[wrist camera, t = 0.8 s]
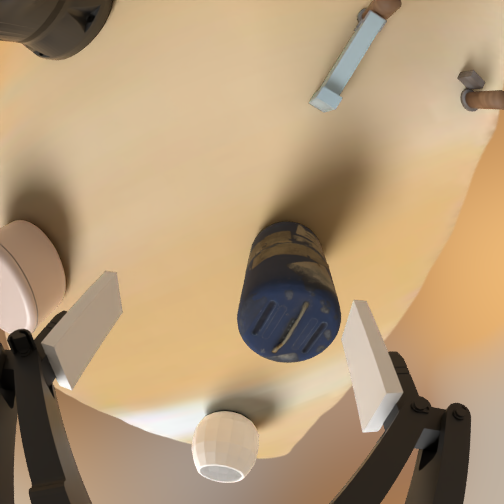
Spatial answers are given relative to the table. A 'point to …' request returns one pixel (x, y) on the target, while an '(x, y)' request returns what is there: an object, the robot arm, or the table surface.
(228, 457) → the cup
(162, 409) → the table surface
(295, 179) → the table surface
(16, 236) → the container
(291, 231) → the canister
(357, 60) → the gate
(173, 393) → the table surface
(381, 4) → the gateposts
